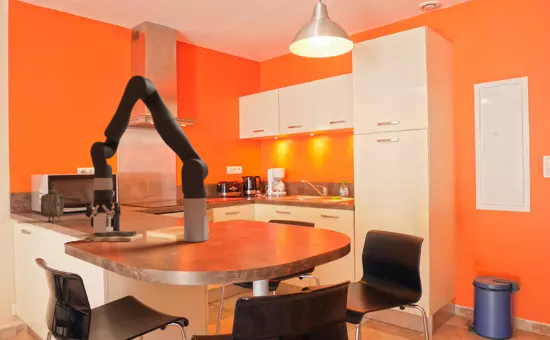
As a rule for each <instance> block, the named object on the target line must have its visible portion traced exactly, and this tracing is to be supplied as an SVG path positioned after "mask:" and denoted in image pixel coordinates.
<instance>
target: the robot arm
mask: <svg viewBox="0 0 550 340" xmlns="http://www.w3.org/2000/svg"><path fill="white" fill-rule="evenodd" d="M139 100H141V101H142V103H143V105H145V106H146V108H147V110H148V111H149V112H150V115H151V119H152V123H153V126H154V128H155V130H156V132H157V133H158V136H160V138H161V139H162V141H163V142H164V143H165V144H166V145H167V147H168V148H170V150H172V151H173V153H175V155H177V157H178V158H179V159H180V161H181V162H182V165H181V173H180V179H181V191H182V193H183V241H184V242H188V243H194V242H195V243H196V242H205V241H207V240H209V215H207V213H208V212H207V211H208V209H207V206H208V205H207V204H208V202H207V201H208V200H207V197H208V196H207V190H206V189H205V180H206V178H208V175H209V168H208V165H207V163H206V161H204V160H203V158H202V157H201V156H200V155H199V154H198V152H197V151H196V150H195V148H194V147H193V145H192V143H191V141H190V139H189V137H188V136H187V135H186V133H185V132H184V130H183V128H182V127H181V125H180V123H179V122H178V120H177V119H176V117H174V115H173V113H172V112H171V110H170V109H169V108H168V107H167V105H166V103H165V102H164V100H163V98H162V97H161V95H160V93H159V91H158V88H157V86H156V85H155V83H154V82H153V81H152V80H151V79H148V78H147V77H144V76H143V75H138V74H137V75H132V77H130V79H128V81H127V83H126V86H125V89H124V91H123V93H122V96H121V99H120V101H119V104H118V106H117V108H116V110H115V113H114V114H113V115H112V117H111V120H110V121H109V122H108V124H107V126H106V128H105V129H104V133H103V135H104V137H105V141H96V142H94V143H92V145H91V147H90V150H89V152H90V158H91V162H92V165H93V170H94V171H93V172H94V173H93V202H86V205H85V207H86V209H85V217H87V218H90V226H91V228H93V216H98V215H100V213H101V214H102V213H103V214H105V213H106V214H107V213H108V214H109V215H110V217H111V227H115V225H116V217H118V216H120V217H121V203H120V201H119V202H118V201H117V202H113V199H114V198H113V197H114V196H113V195H114V194H113V193H114V191H113V190H114V187H113V184H114V183H113V168H112V165H110V164H108V161H107V160H110V159H111V158H113V157H114V156H115V155H116V153H117V151H118V148H119V145H120V141H121V139H122V137H123V135H124V134H125V132H126V130H127V128H128V127H129V124H130V119H131V114H132V112H133V109H134V106H135V105H136V104H137V102H138V101H139ZM93 208H94V209H93ZM112 208H115V213H114V211H113V209H112Z"/></svg>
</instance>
